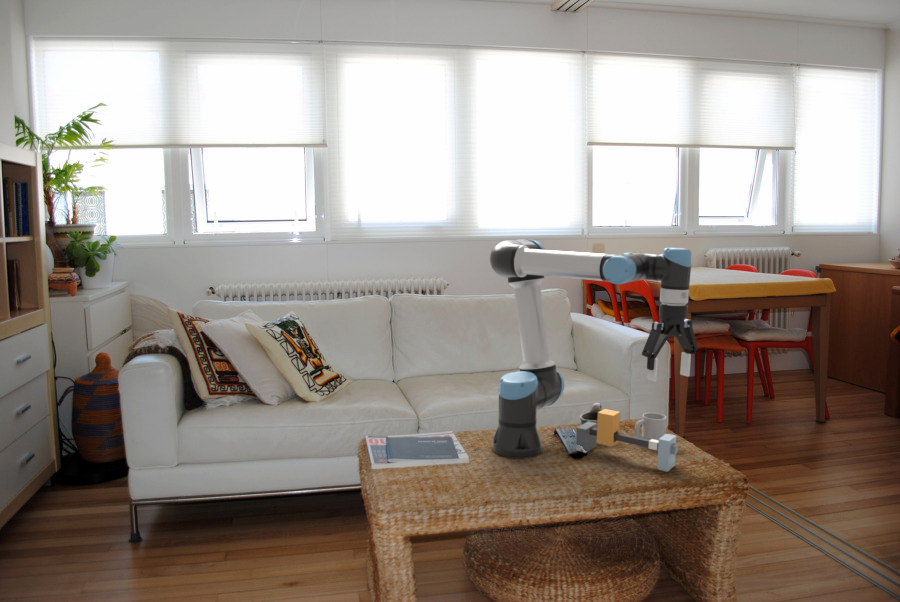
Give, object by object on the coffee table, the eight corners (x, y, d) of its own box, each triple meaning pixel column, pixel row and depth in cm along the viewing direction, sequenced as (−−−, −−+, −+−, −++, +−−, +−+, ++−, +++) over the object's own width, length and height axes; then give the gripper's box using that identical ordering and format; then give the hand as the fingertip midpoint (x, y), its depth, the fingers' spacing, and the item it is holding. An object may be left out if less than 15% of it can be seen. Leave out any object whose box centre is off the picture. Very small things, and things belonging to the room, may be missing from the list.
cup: (669, 446, 208) (670, 419, 207) (638, 448, 207) (640, 420, 205) (658, 438, 215) (659, 412, 214) (629, 440, 214) (630, 413, 212)
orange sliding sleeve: (596, 443, 200) (597, 412, 199) (603, 438, 204) (604, 408, 203) (612, 446, 197) (613, 415, 196) (618, 442, 201) (620, 411, 200)
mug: (579, 441, 213) (580, 410, 211) (578, 428, 225) (579, 400, 223) (610, 443, 211) (611, 412, 210) (607, 430, 223) (608, 401, 222)
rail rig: (575, 451, 203) (576, 422, 202) (587, 444, 210) (588, 416, 208) (670, 474, 186) (672, 443, 185) (680, 465, 192) (681, 435, 191)
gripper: (653, 308, 174) (647, 386, 177) (714, 303, 187) (708, 376, 190) (631, 304, 181) (626, 380, 184) (692, 299, 194) (687, 370, 197)
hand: (668, 378), depth 187 cm, fingers open, 13 cm apart
